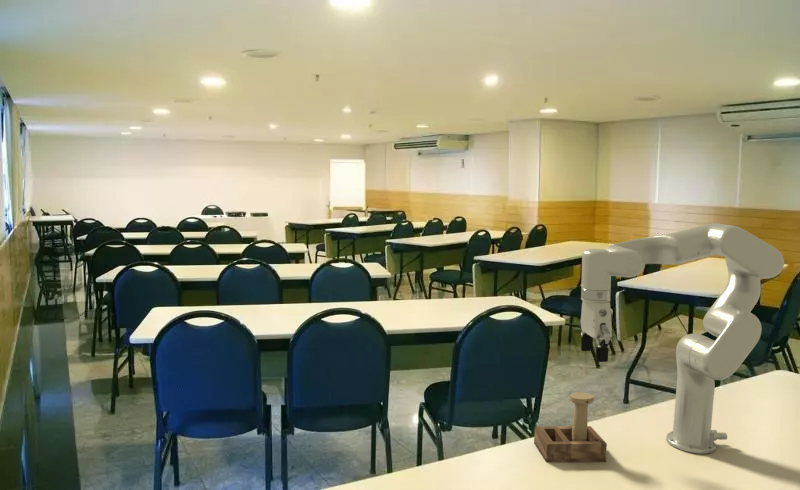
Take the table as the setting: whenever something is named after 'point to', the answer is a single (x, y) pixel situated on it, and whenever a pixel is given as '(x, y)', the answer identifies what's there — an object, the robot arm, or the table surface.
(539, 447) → the socket block
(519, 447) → the table surface
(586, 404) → the handle
